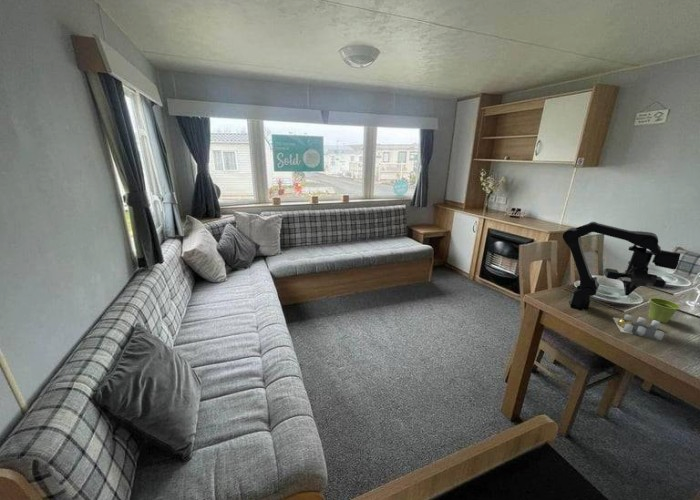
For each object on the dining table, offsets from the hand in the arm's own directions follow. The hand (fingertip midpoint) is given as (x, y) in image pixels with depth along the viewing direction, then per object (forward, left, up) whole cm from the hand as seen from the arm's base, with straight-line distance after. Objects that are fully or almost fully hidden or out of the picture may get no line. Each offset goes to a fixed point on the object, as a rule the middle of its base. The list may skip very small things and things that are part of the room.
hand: (626, 295), depth 127 cm
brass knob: (0, -7, -11) cm, 13 cm away
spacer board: (+5, -7, -12) cm, 15 cm away
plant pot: (+16, +8, -12) cm, 22 cm away
